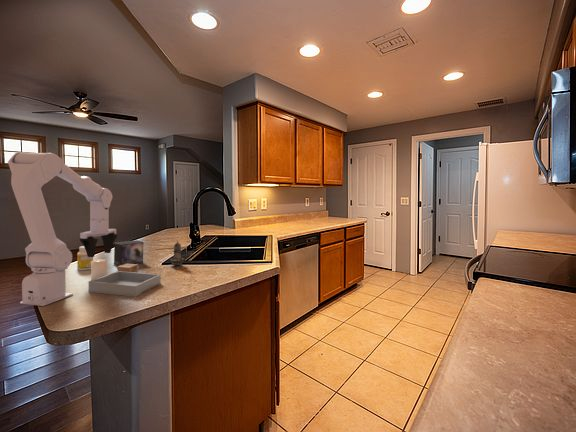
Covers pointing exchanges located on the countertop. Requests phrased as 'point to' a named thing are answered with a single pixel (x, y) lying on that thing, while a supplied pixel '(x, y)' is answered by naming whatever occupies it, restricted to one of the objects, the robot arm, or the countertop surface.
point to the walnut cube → (128, 268)
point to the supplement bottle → (83, 259)
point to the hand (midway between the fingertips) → (99, 254)
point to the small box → (128, 252)
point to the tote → (125, 283)
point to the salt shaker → (177, 256)
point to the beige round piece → (98, 268)
